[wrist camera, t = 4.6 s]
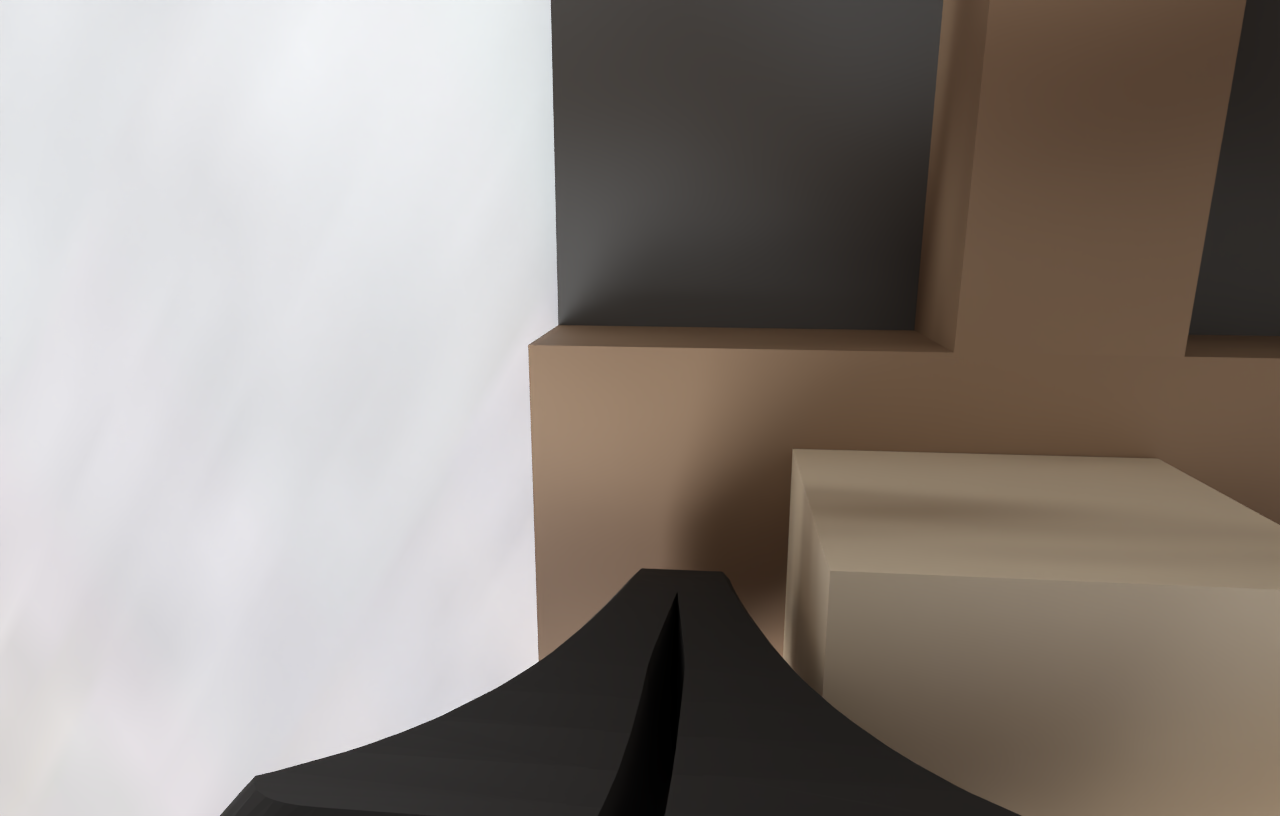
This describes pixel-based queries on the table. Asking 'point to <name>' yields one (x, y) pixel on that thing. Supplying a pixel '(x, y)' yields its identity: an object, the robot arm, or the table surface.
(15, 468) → the table surface
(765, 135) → the trap track
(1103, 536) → the birch block
